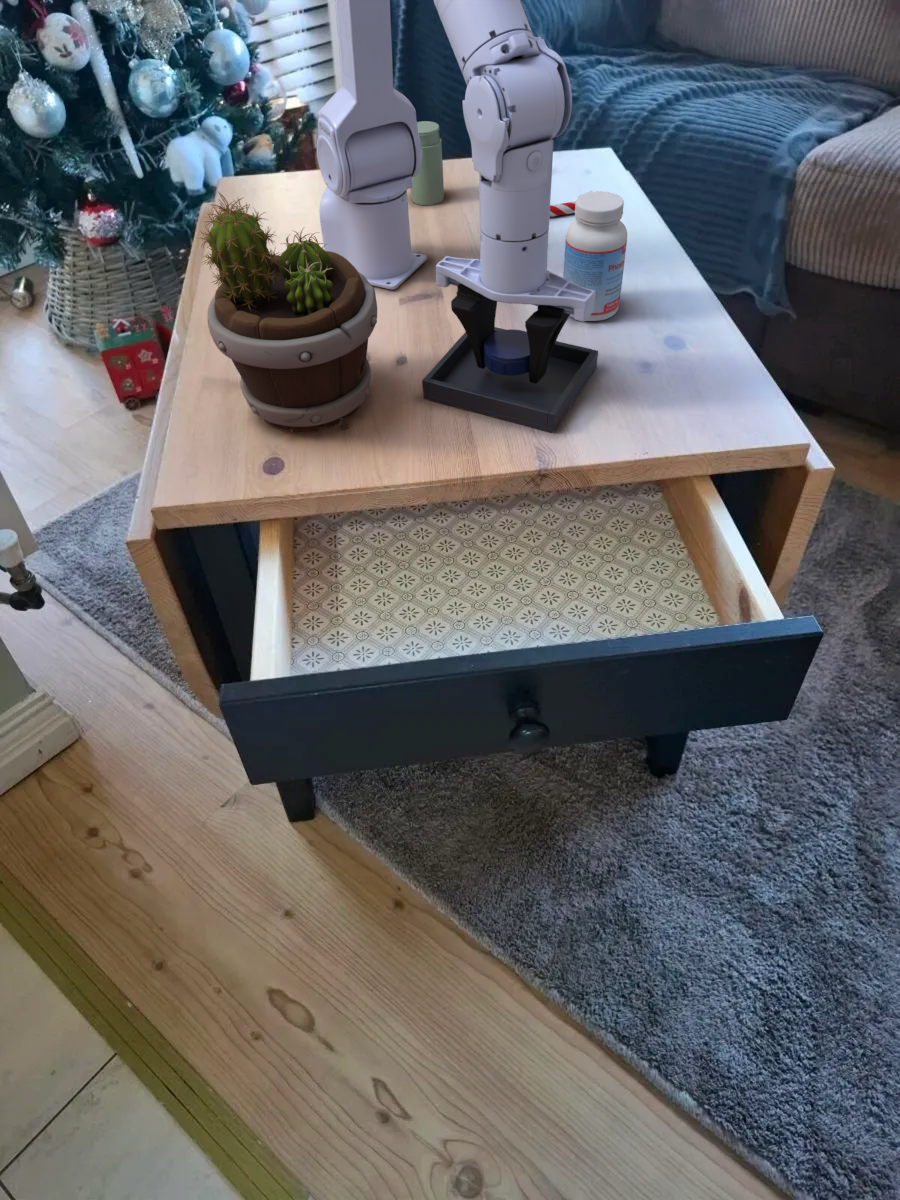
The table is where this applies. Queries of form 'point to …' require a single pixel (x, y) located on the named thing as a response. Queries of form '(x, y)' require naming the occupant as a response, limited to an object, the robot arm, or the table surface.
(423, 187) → the jar
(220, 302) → the flowerpot
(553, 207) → the candy cane
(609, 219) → the pill bottle
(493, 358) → the jar lid
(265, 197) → the table surface
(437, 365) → the tray
